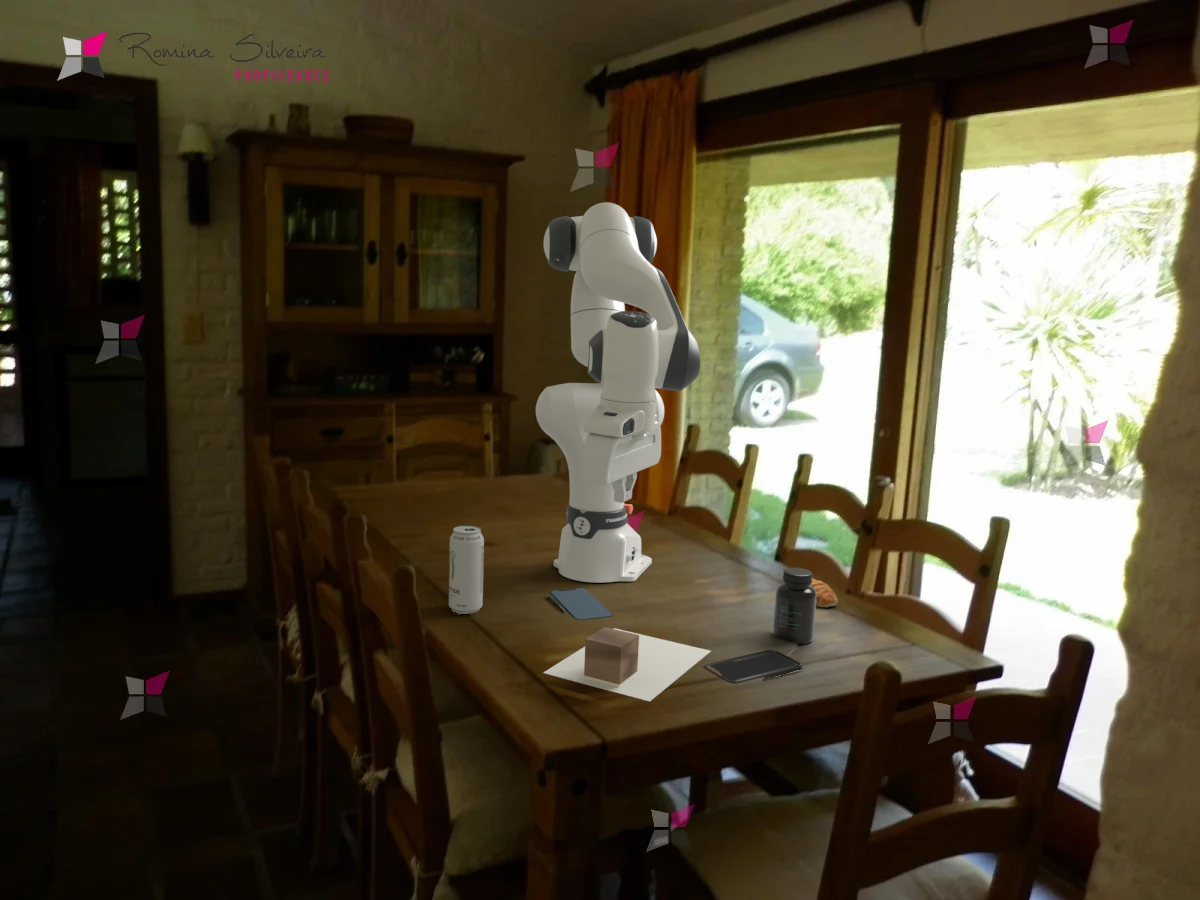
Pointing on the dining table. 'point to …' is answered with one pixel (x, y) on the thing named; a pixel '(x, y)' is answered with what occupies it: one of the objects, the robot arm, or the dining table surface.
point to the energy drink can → (466, 569)
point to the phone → (755, 666)
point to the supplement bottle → (795, 607)
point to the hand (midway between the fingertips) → (622, 500)
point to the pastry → (824, 594)
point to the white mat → (639, 667)
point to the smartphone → (579, 604)
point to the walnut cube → (611, 656)
